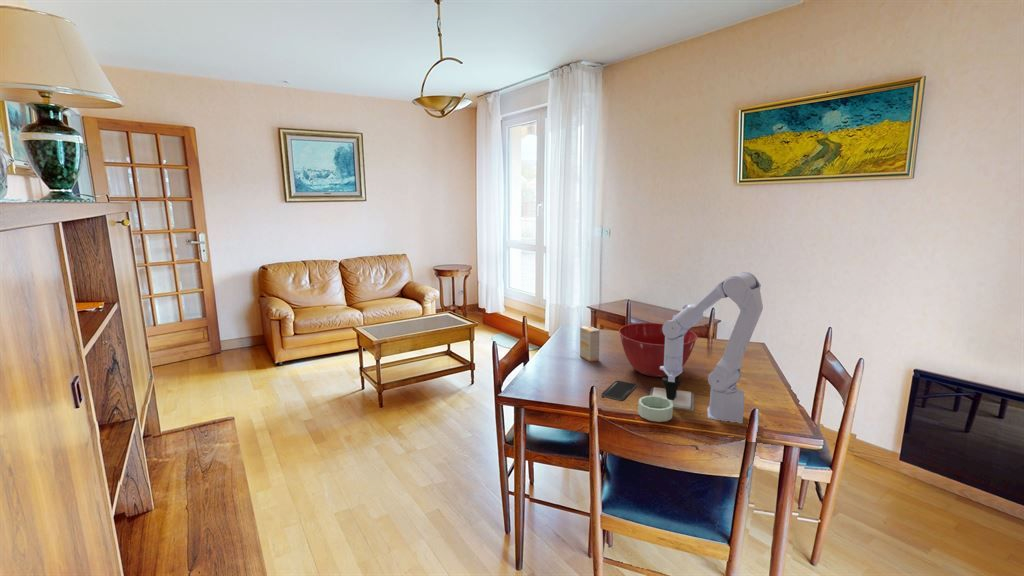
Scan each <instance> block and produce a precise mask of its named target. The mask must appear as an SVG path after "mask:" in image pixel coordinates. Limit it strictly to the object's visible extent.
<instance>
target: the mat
mask: <svg viewBox="0 0 1024 576" xmlns="http://www.w3.org/2000/svg"><path fill="white" fill-rule="evenodd" d="M653 389H654V387H651V388H650V391H649V395H648V396H652V394H653ZM694 405H695V393H694V392H691V406H690V409H686V408H679V407H673V409H677V410H684V411H691V412H692V411H693V412H695V411H694V409H695V406H694Z"/></svg>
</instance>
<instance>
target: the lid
mask: <svg viewBox="0 0 1024 576" xmlns="http://www.w3.org/2000/svg"><path fill="white" fill-rule="evenodd" d="M653 388H654V389H653V394H652V396H660V397H664V398H666V399H667V396H666V389H665V387H663V388H662V387H655V386H654V387H653ZM691 393H692V391H685V390H678V389H677V391H676V395H675V399H674V400H670V401H671V402H672V403H673V407H679V408H686V409H690V406H691Z"/></svg>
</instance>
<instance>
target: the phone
mask: <svg viewBox="0 0 1024 576" xmlns="http://www.w3.org/2000/svg"><path fill="white" fill-rule="evenodd" d="M637 386H638V385H637V384H636V383H632V382H626V381H623V380H615V381H614V382H613V383H612V384H611V385H609V386H608V387H607V388H606V389H605V390H604V391H602V393H601V398H603V399H604V398H607V399H611V400H616V401H619V402H621V401H625V399H627V398H628V396H629V395H630V394H631V393H632V392H633V391H634V390H635V389H636V388H637Z"/></svg>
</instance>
